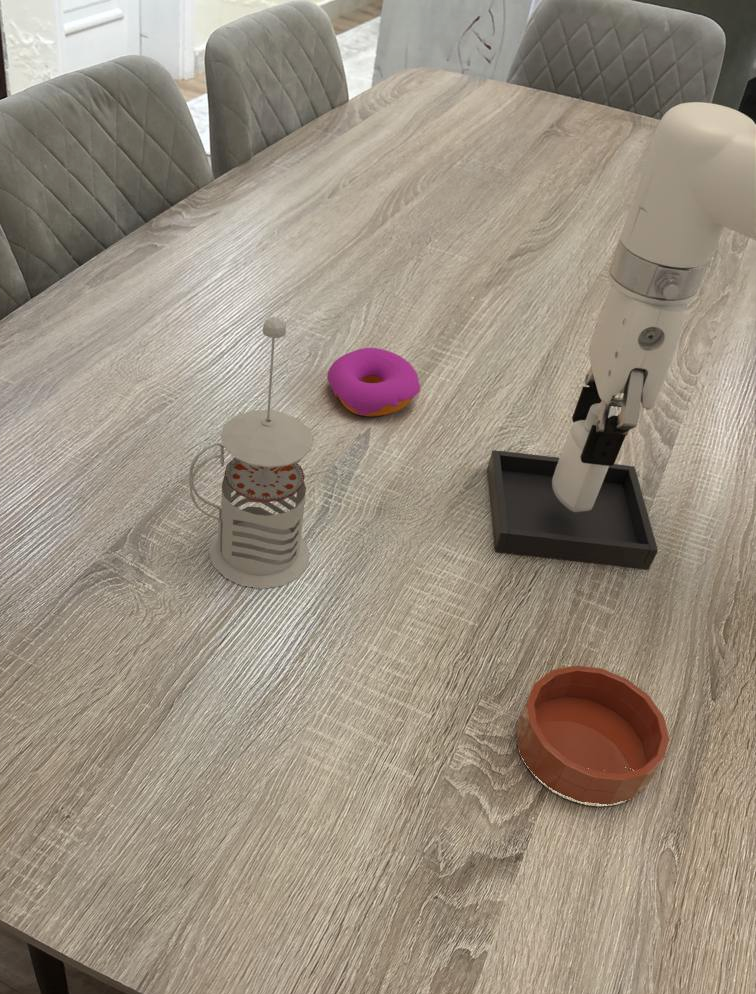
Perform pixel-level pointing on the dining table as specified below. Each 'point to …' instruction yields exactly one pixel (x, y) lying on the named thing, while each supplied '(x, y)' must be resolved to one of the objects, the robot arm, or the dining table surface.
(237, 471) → the french press
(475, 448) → the dining table surface
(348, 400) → the donut
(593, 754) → the bowl
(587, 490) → the eye dropper bottle
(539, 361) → the dining table surface
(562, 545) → the tray
